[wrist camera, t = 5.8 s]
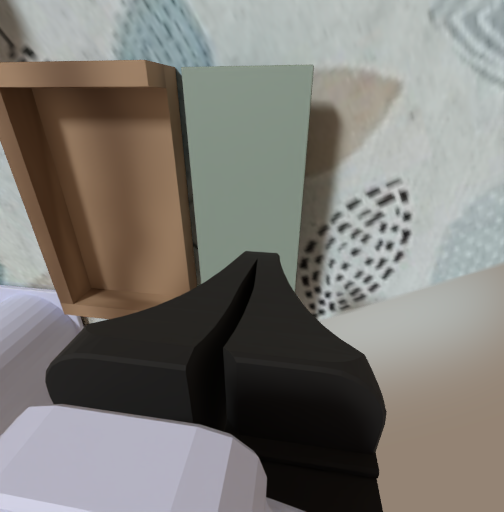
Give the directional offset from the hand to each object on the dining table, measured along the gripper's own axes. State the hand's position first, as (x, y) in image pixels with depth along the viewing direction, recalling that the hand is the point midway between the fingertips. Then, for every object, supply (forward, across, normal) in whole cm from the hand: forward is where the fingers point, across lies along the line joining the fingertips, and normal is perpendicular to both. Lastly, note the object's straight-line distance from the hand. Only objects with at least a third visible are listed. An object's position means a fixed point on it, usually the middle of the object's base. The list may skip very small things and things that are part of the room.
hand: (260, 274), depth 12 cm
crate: (+8, +10, 0) cm, 13 cm away
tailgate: (+7, +4, 0) cm, 8 cm away
